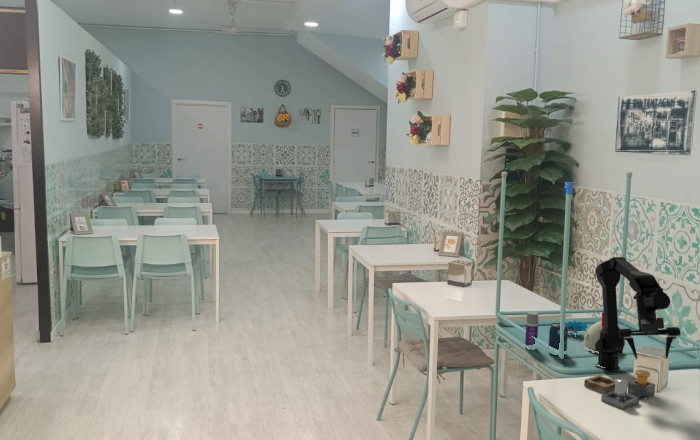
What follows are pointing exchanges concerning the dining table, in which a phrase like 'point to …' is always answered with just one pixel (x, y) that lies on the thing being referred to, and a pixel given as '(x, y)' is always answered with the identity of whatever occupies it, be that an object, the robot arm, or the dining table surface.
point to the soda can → (557, 336)
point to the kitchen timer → (593, 334)
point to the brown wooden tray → (600, 384)
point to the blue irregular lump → (576, 326)
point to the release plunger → (642, 377)
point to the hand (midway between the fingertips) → (651, 358)
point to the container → (531, 328)
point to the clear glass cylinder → (620, 389)
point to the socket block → (631, 395)
